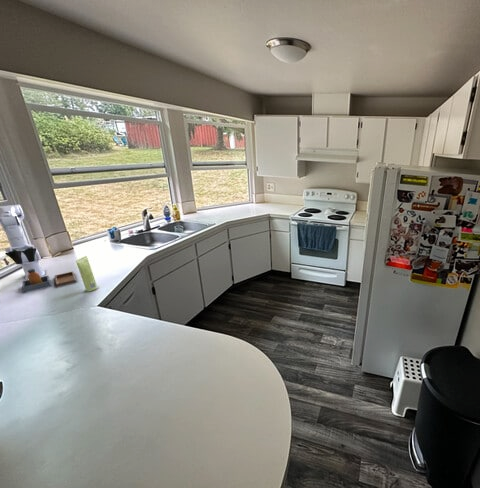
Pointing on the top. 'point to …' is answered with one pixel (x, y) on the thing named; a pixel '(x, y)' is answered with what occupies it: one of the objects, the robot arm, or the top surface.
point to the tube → (86, 274)
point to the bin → (28, 287)
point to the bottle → (34, 277)
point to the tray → (65, 279)
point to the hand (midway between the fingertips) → (26, 262)
